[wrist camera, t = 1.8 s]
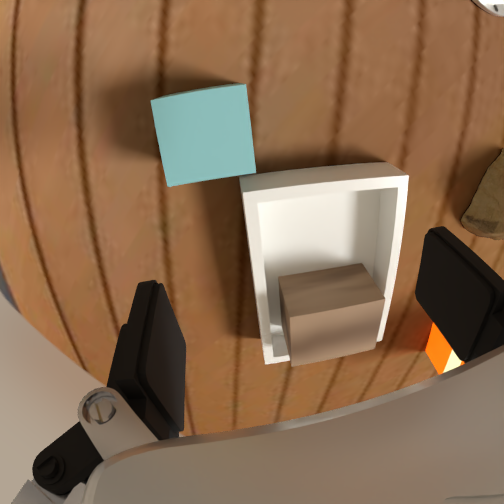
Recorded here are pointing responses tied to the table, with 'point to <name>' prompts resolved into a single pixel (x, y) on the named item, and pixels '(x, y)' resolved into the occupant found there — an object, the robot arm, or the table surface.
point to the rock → (488, 204)
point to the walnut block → (329, 313)
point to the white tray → (321, 232)
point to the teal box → (204, 134)
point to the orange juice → (441, 352)
